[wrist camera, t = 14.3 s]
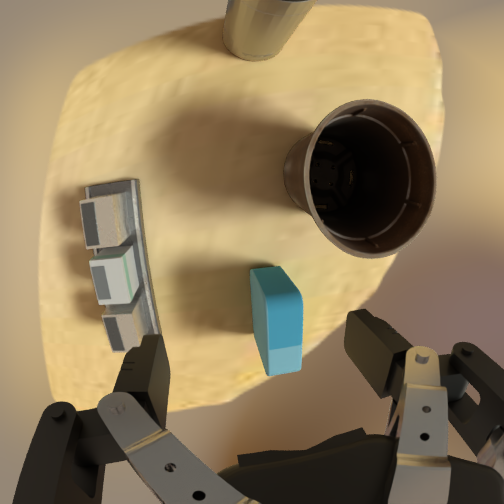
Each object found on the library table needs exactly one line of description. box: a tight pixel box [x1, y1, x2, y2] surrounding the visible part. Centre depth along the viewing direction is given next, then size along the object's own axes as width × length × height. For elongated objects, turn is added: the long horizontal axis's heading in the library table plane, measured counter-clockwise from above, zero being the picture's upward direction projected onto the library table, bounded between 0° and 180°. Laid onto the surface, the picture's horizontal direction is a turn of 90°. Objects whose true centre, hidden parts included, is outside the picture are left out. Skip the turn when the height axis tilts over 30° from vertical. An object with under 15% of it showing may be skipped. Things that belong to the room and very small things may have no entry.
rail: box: [79, 179, 162, 352], centre depth 36 cm, size 24×8×8 cm, turn 3°
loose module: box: [89, 246, 139, 305], centre depth 35 cm, size 6×5×6 cm
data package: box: [250, 266, 303, 376], centre depth 39 cm, size 12×4×12 cm, turn 3°
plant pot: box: [284, 99, 436, 259], centre depth 33 cm, size 16×16×16 cm
